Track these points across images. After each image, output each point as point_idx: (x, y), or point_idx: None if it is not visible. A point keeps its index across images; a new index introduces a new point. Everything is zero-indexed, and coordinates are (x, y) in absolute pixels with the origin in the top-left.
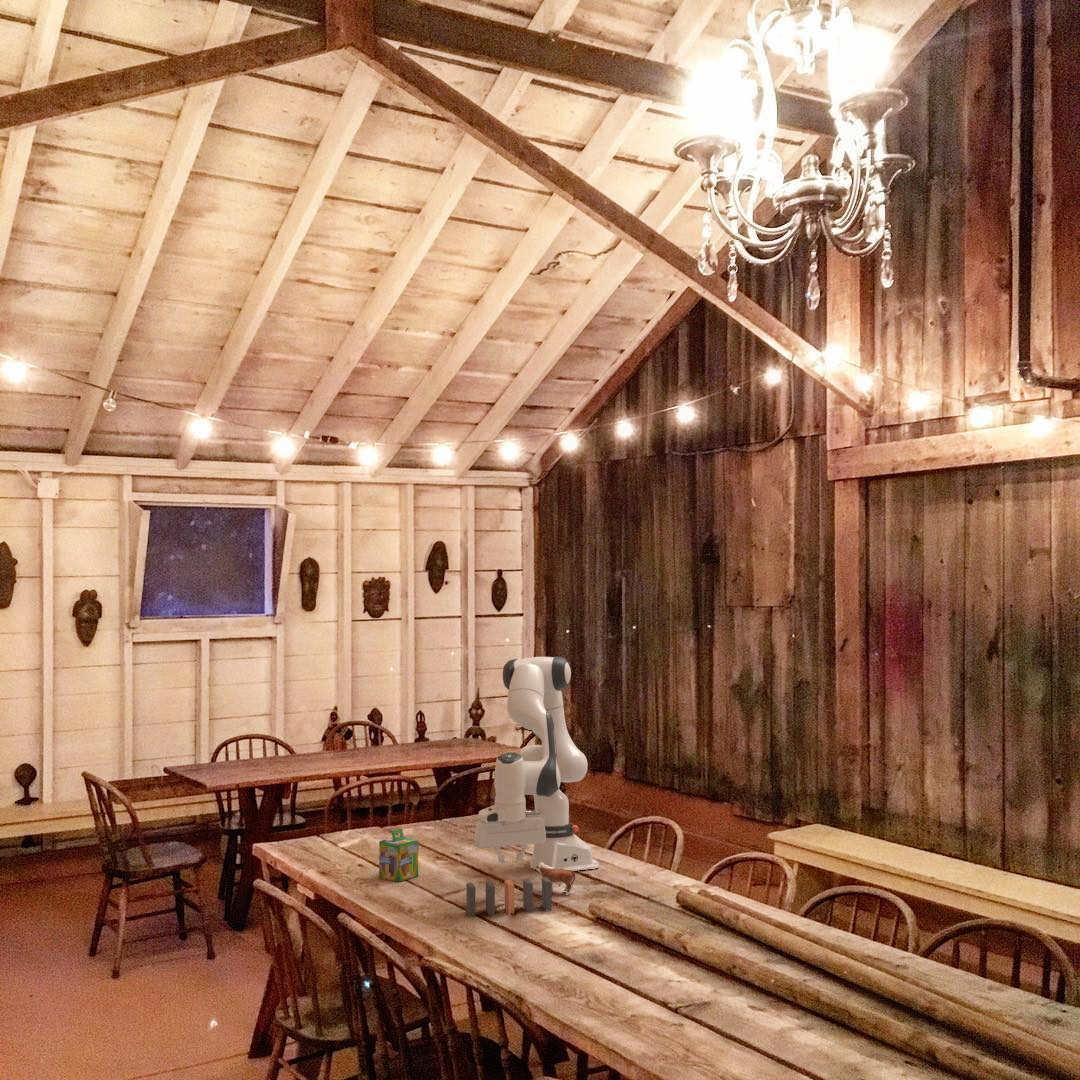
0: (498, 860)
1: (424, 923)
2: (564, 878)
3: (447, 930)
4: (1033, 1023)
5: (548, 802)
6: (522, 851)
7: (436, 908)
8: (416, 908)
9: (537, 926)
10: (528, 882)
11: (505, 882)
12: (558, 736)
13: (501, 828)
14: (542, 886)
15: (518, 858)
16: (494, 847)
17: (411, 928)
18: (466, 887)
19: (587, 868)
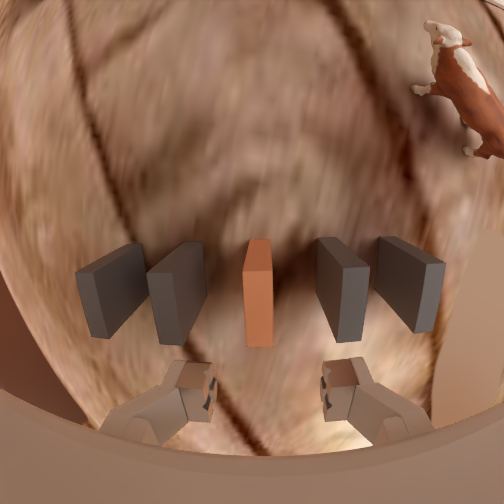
0: (174, 364)
1: (48, 311)
2: (493, 148)
3: (96, 369)
4: None
5: None
6: (364, 432)
7: (59, 196)
8: (26, 190)
9: (303, 400)
10: (347, 328)
11: (243, 289)
12: None
13: None
14: (408, 265)
15: (323, 400)
16: (107, 428)
17: (37, 332)
18: (84, 267)
19: (498, 4)
